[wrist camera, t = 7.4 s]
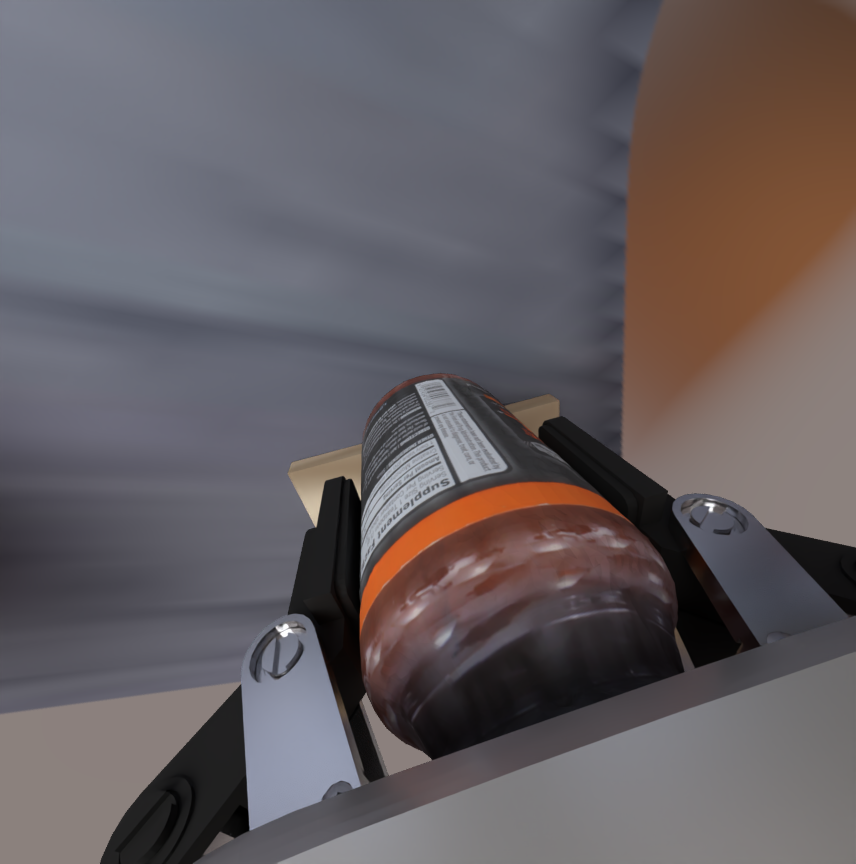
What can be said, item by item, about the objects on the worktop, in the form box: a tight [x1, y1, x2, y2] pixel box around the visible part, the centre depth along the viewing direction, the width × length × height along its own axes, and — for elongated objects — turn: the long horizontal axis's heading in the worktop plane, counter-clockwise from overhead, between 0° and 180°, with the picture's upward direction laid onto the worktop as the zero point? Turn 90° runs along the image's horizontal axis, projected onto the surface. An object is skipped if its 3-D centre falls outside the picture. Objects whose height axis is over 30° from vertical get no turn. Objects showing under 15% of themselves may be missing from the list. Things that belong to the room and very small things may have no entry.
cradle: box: [288, 394, 559, 527], centre depth 18 cm, size 14×14×4 cm
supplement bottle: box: [359, 373, 685, 760], centre depth 8 cm, size 6×6×11 cm
